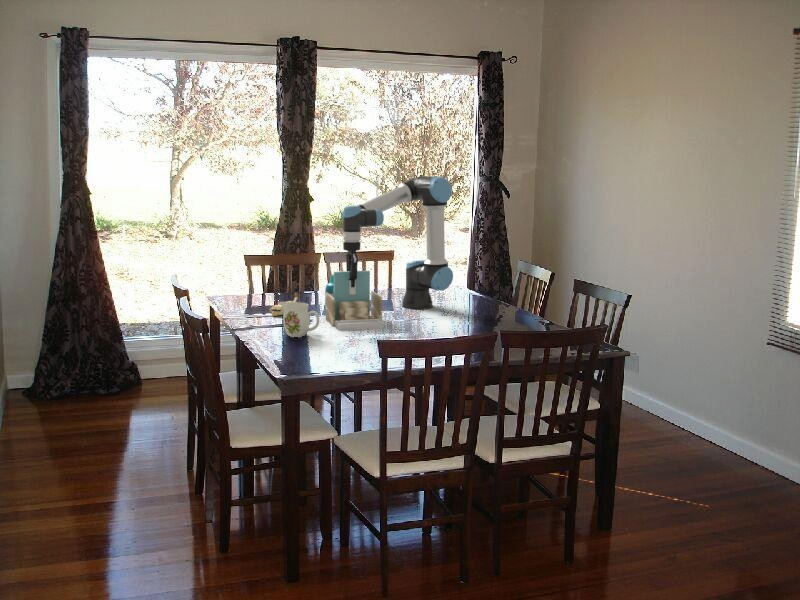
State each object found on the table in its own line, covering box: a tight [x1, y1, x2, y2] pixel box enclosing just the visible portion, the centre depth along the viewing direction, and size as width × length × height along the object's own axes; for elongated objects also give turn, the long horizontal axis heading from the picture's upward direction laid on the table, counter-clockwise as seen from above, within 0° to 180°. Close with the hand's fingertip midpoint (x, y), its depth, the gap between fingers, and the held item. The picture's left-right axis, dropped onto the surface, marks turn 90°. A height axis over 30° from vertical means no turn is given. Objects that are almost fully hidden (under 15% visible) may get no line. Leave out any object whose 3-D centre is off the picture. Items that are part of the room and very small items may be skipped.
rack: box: [325, 290, 383, 327], centre depth 354 cm, size 22×15×14 cm
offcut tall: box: [339, 301, 370, 320], centre depth 353 cm, size 13×2×9 cm, turn 107°
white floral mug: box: [278, 301, 321, 338], centre depth 331 cm, size 11×18×14 cm, turn 77°
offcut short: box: [344, 307, 368, 320], centre depth 350 cm, size 10×2×7 cm, turn 107°
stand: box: [334, 319, 385, 331], centre depth 344 cm, size 20×8×4 cm, turn 107°
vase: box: [324, 273, 334, 307], centre depth 372 cm, size 11×11×19 cm
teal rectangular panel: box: [333, 270, 371, 319], centre depth 356 cm, size 16×2×22 cm, turn 107°
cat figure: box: [269, 292, 299, 317], centre depth 380 cm, size 10×9×25 cm
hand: (351, 293), depth 356 cm, fingers closed on teal rectangular panel, 2 cm apart
